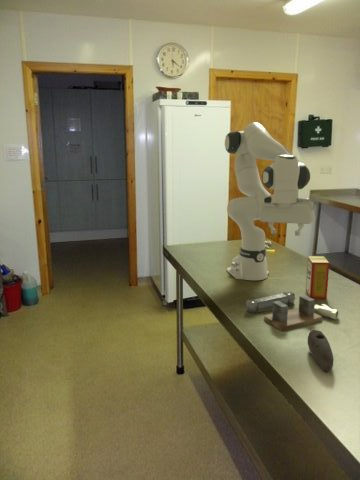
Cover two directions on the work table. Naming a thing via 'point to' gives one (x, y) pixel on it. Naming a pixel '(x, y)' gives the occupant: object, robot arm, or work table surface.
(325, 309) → the pipe fitting
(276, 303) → the peg stand
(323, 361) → the perforated stone tool
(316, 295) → the baking soda box
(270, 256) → the work table surface
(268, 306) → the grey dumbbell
